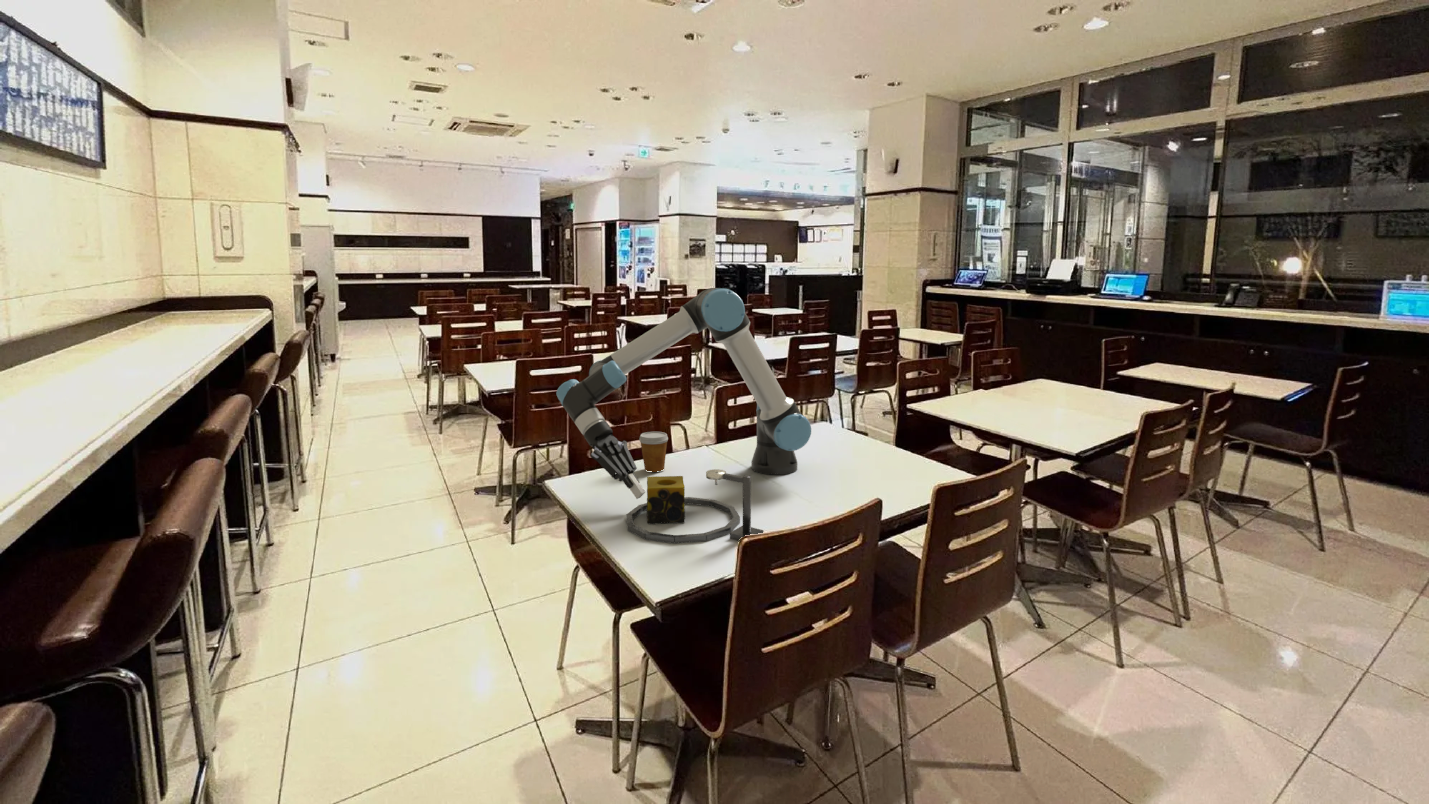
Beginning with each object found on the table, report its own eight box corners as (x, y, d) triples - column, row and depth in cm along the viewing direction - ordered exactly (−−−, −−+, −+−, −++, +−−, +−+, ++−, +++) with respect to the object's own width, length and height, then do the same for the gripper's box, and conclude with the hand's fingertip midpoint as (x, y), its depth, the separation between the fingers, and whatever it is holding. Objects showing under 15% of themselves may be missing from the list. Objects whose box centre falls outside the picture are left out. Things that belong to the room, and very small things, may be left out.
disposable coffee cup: (671, 466, 230) (670, 431, 228) (666, 474, 221) (665, 438, 218) (643, 465, 231) (642, 431, 229) (637, 474, 222) (636, 438, 219)
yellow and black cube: (647, 511, 188) (646, 476, 186) (684, 510, 189) (683, 475, 187) (646, 525, 178) (645, 488, 176) (685, 523, 179) (684, 486, 177)
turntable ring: (726, 499, 196) (726, 494, 196) (749, 537, 168) (749, 532, 168) (624, 506, 191) (624, 501, 191) (630, 547, 163) (630, 541, 163)
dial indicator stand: (763, 535, 170) (763, 475, 167) (750, 543, 165) (750, 481, 162) (715, 524, 178) (714, 466, 175) (701, 531, 173) (700, 472, 170)
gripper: (604, 431, 200) (649, 496, 194) (571, 440, 190) (617, 509, 184) (617, 415, 196) (663, 481, 190) (583, 424, 186) (632, 494, 180)
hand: (641, 495), depth 187 cm, fingers closed
